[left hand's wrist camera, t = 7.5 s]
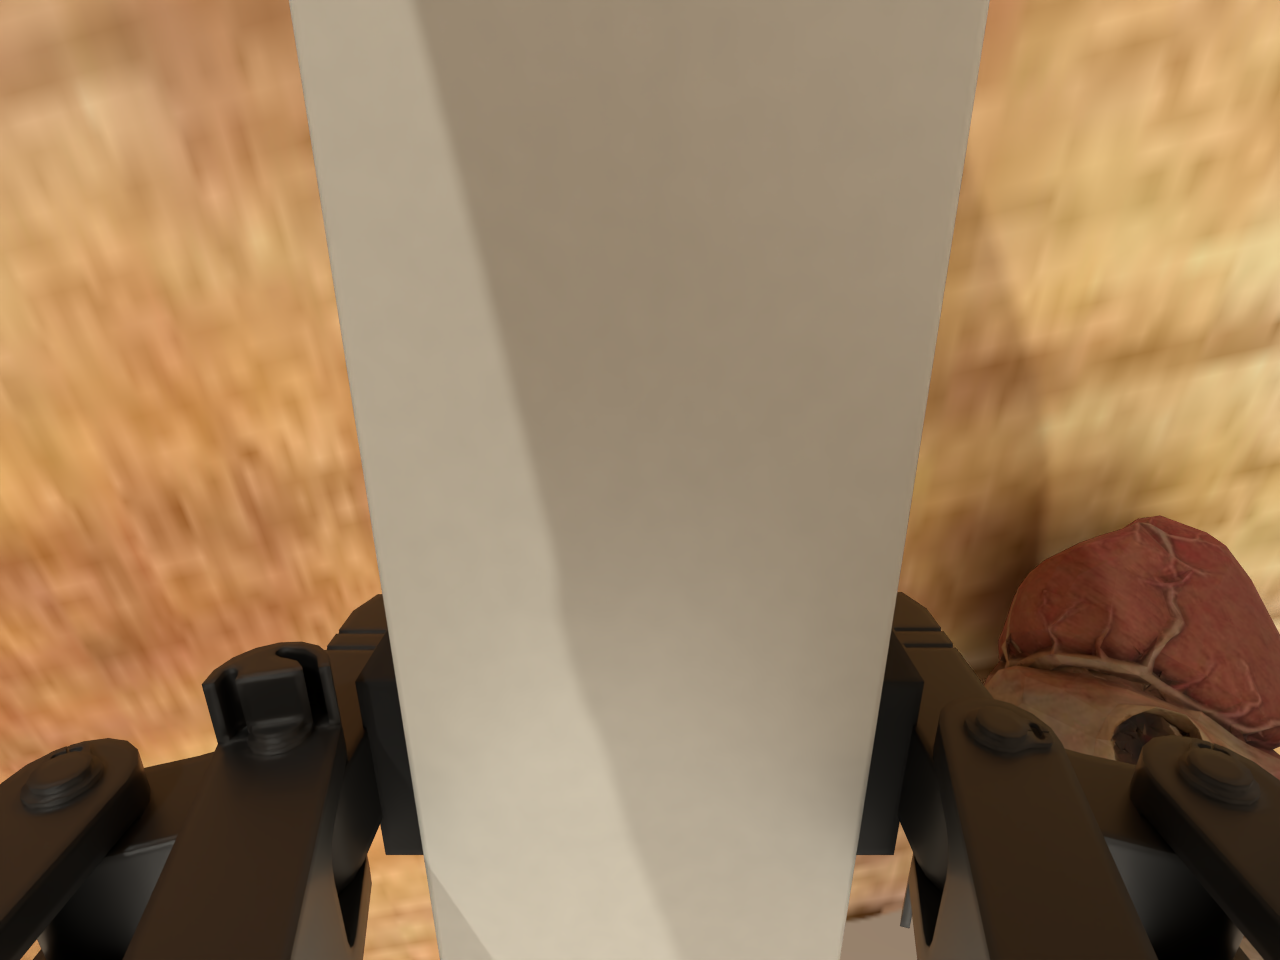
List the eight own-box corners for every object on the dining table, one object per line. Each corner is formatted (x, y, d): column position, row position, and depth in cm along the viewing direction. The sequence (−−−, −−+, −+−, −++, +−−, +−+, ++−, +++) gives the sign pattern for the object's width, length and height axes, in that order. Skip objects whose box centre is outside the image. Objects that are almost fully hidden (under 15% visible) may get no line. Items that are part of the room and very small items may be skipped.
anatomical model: (1019, 489, 27) (1001, 832, 29) (902, 524, 22) (891, 941, 24) (1540, 542, 17) (1453, 1049, 20) (1563, 629, 12) (1440, 1314, 14)
